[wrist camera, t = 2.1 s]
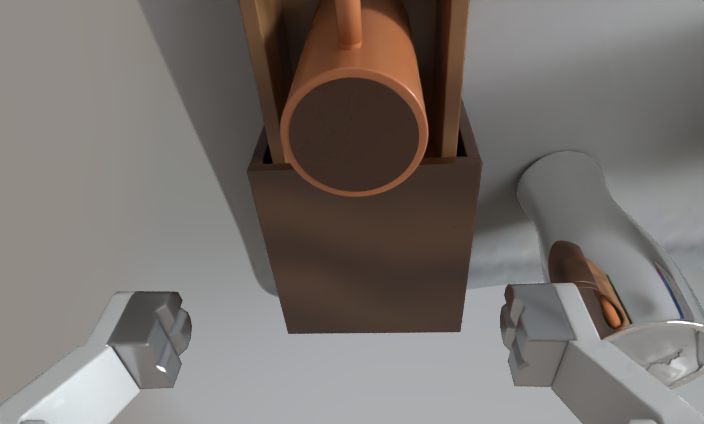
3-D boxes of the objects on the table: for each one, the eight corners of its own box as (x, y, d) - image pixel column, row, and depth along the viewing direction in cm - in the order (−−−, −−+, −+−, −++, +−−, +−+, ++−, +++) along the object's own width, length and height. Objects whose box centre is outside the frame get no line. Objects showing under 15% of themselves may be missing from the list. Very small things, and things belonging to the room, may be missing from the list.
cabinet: (272, 99, 31) (246, 171, 25) (460, 91, 31) (482, 163, 24) (301, 252, 41) (288, 334, 34) (446, 249, 40) (460, 332, 33)
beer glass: (497, 168, 34) (559, 344, 23) (597, 128, 32) (723, 302, 20) (525, 231, 38) (590, 409, 27) (616, 199, 36) (731, 380, 24)
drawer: (222, -209, 21) (172, -219, 16) (476, -234, 20) (512, -252, 15) (284, 134, 32) (267, 194, 27) (450, 127, 31) (465, 187, 26)
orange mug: (410, 78, 28) (426, 196, 19) (317, 82, 28) (291, 200, 20) (412, -98, 22) (436, -45, 14) (296, -89, 23) (247, -32, 14)
